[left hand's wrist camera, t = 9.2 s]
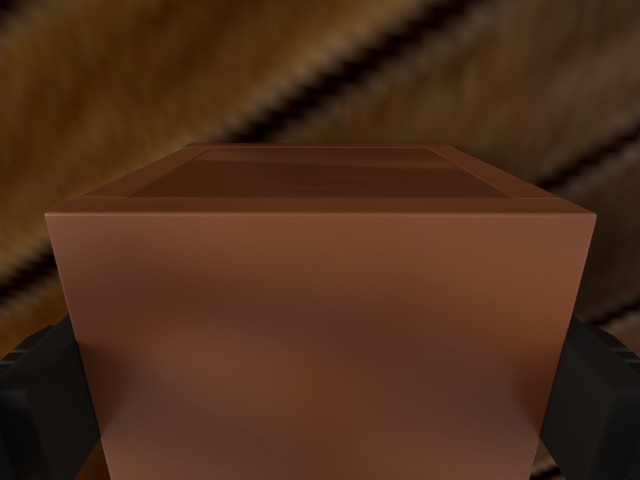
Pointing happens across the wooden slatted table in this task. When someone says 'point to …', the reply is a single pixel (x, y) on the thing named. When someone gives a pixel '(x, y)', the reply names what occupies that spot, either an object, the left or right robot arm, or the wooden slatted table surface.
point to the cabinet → (320, 312)
